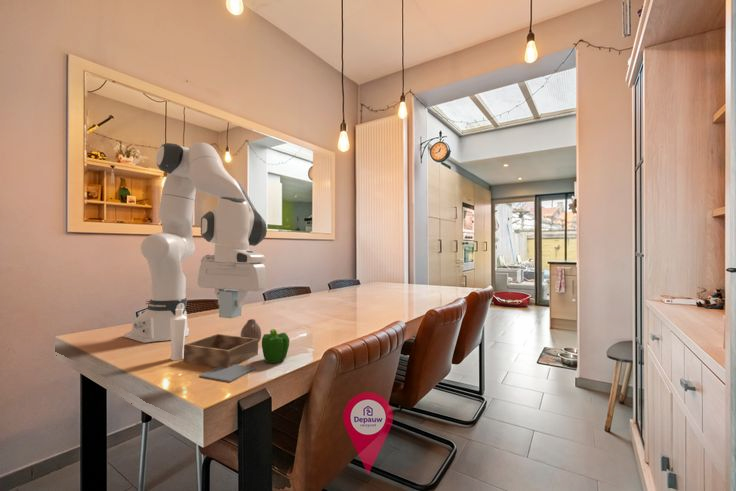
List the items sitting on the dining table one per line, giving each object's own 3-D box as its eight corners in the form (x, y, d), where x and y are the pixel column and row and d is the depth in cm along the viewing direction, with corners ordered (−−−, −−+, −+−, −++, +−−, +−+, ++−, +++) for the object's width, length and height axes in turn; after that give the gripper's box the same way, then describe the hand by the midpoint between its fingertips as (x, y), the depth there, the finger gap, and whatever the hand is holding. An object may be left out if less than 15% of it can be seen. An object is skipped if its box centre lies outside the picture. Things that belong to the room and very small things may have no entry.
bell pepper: (276, 354, 105) (276, 323, 105) (294, 359, 101) (294, 327, 101) (254, 361, 98) (255, 328, 98) (272, 367, 94) (273, 332, 94)
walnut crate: (183, 361, 96) (184, 344, 96) (217, 348, 109) (217, 333, 109) (227, 369, 92) (228, 351, 92) (257, 354, 104) (258, 338, 105)
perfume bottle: (189, 357, 100) (191, 309, 100) (174, 361, 96) (176, 311, 96) (181, 354, 102) (183, 307, 103) (166, 358, 99) (168, 309, 99)
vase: (264, 342, 118) (264, 318, 118) (255, 348, 111) (256, 322, 111) (246, 341, 119) (246, 317, 119) (236, 347, 112) (237, 321, 112)
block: (218, 317, 88) (219, 291, 88) (229, 314, 92) (230, 289, 92) (231, 318, 87) (231, 292, 87) (241, 315, 90) (241, 290, 90)
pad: (199, 376, 86) (199, 375, 86) (226, 364, 95) (226, 363, 95) (230, 382, 83) (230, 380, 83) (255, 368, 92) (255, 367, 92)
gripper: (192, 254, 89) (191, 304, 89) (255, 256, 83) (254, 310, 83) (210, 254, 95) (208, 301, 95) (270, 256, 89) (268, 306, 89)
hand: (230, 305), depth 89 cm, fingers closed on block, 4 cm apart
